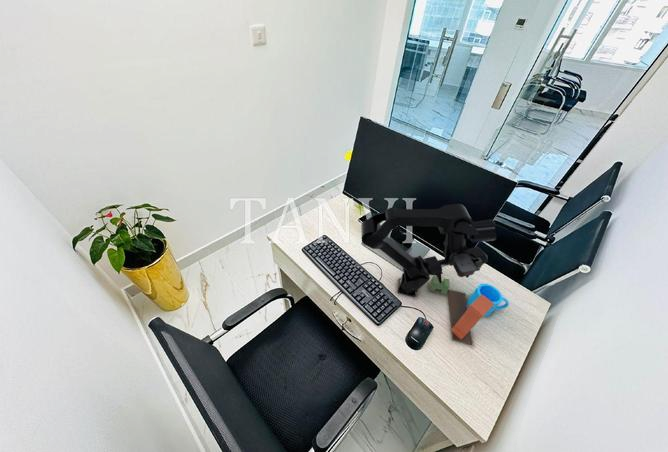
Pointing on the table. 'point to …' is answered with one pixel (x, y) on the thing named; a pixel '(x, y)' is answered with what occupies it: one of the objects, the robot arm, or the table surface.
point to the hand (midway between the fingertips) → (453, 279)
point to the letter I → (472, 316)
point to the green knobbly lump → (439, 285)
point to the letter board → (458, 313)
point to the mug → (489, 297)
